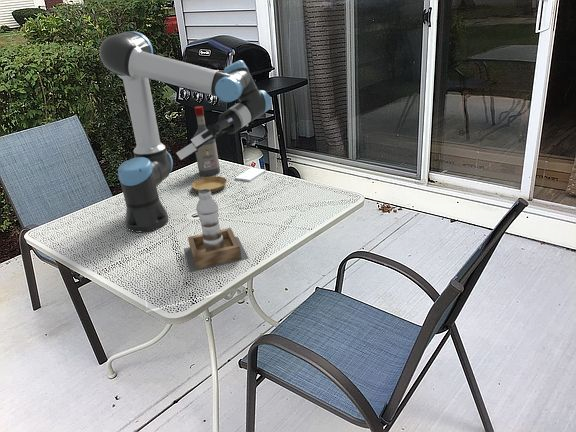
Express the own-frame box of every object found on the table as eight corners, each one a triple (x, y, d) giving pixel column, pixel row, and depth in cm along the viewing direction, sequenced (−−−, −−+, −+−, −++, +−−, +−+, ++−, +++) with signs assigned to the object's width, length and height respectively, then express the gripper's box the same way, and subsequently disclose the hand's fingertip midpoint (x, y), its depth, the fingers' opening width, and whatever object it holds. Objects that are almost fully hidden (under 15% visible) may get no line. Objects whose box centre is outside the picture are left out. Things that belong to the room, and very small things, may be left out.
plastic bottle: (216, 257, 151) (205, 197, 142) (199, 252, 154) (188, 193, 146) (229, 247, 155) (220, 188, 147) (213, 243, 159) (203, 185, 150)
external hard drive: (266, 173, 220) (250, 183, 210) (251, 171, 224) (234, 180, 215) (265, 169, 219) (249, 179, 210) (250, 167, 223) (234, 177, 214)
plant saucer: (225, 193, 201) (224, 187, 200) (189, 196, 202) (188, 190, 201) (229, 180, 214) (228, 175, 213) (196, 183, 215) (194, 177, 214)
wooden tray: (196, 269, 148) (193, 257, 146) (190, 248, 160) (187, 237, 158) (241, 258, 151) (239, 246, 149) (232, 239, 163) (230, 227, 161)
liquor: (221, 173, 222) (210, 107, 210) (201, 177, 220) (189, 110, 208) (217, 167, 230) (207, 103, 218) (198, 171, 228) (186, 106, 216)
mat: (190, 273, 146) (189, 272, 146) (183, 249, 160) (183, 248, 160) (249, 259, 151) (248, 258, 151) (237, 237, 165) (237, 236, 165)
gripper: (257, 115, 155) (208, 147, 144) (225, 140, 176) (180, 170, 165) (244, 94, 154) (192, 126, 143) (213, 122, 175) (166, 151, 164)
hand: (185, 150), depth 154 cm, fingers open, 13 cm apart
